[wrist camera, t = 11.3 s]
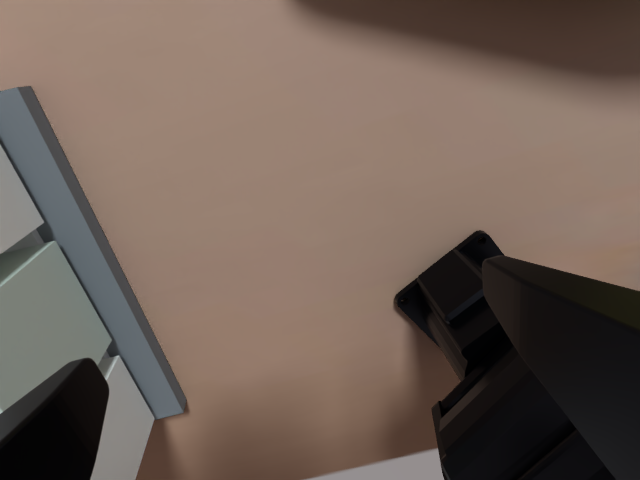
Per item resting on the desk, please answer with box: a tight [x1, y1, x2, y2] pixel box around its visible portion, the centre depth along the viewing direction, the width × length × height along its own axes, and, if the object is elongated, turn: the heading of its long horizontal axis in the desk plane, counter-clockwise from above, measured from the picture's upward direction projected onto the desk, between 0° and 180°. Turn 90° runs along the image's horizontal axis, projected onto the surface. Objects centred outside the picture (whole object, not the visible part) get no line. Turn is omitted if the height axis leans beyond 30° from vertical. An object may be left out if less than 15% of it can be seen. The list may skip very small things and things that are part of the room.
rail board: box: [0, 86, 186, 480], centre depth 17 cm, size 19×8×7 cm, turn 12°
